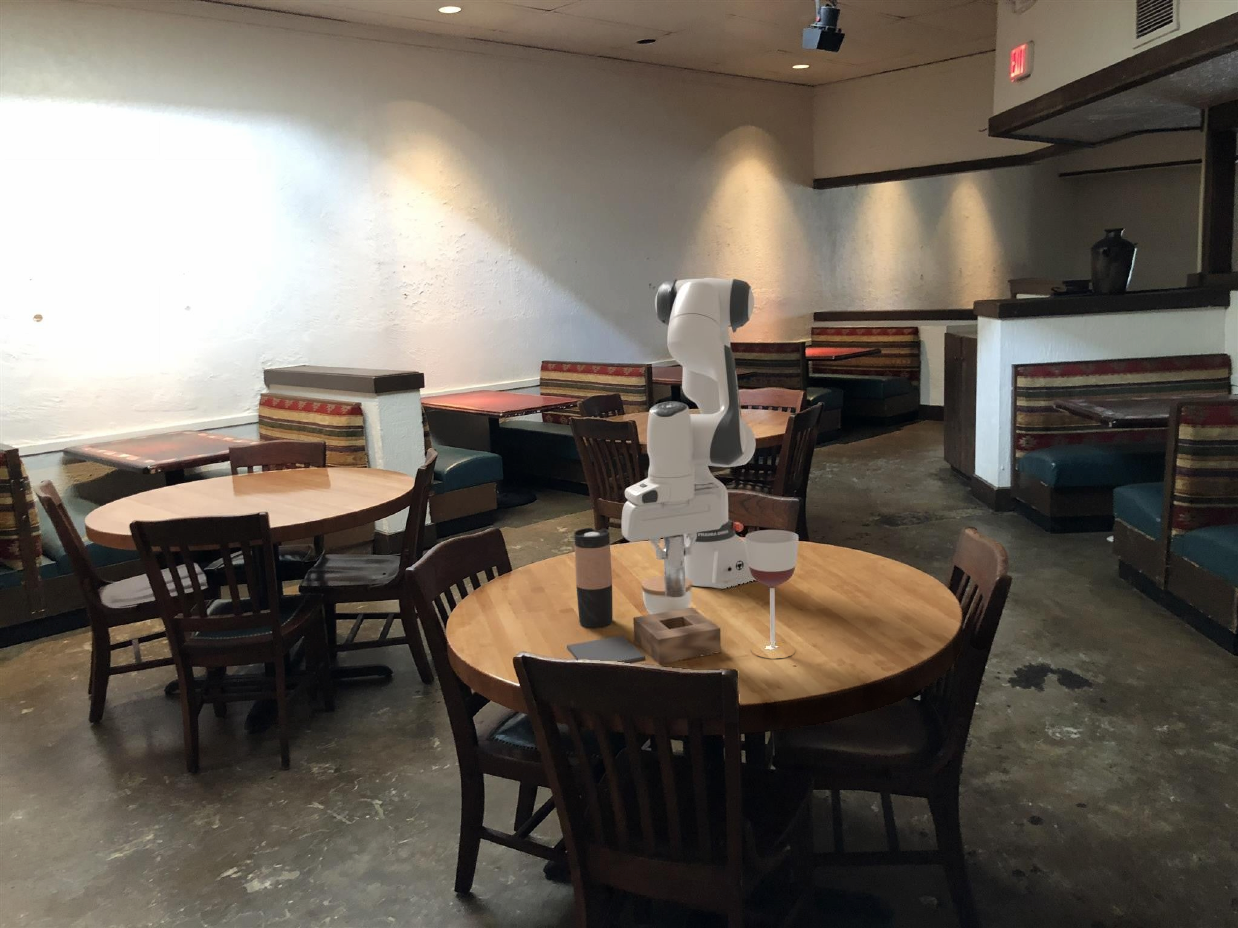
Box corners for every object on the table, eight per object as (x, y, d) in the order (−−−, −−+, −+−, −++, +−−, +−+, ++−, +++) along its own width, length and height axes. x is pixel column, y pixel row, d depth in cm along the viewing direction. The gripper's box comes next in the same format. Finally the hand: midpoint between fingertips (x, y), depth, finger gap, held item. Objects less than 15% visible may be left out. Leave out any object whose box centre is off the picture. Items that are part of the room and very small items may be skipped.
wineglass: (742, 643, 186) (740, 531, 181) (791, 639, 187) (791, 528, 182) (752, 661, 177) (751, 544, 172) (804, 657, 178) (804, 541, 173)
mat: (622, 637, 191) (622, 635, 191) (645, 659, 180) (644, 656, 180) (566, 648, 187) (566, 645, 187) (586, 670, 176) (585, 667, 176)
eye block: (692, 630, 194) (691, 607, 193) (720, 652, 182) (720, 628, 181) (634, 640, 189) (633, 617, 188) (659, 664, 177) (658, 639, 176)
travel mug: (587, 631, 196) (583, 539, 192) (572, 620, 202) (567, 531, 198) (620, 623, 199) (616, 533, 195) (604, 613, 206) (599, 525, 202)
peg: (680, 589, 186) (678, 531, 184) (688, 595, 182) (687, 536, 180) (662, 592, 185) (659, 534, 182) (670, 598, 181) (668, 539, 179)
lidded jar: (654, 606, 209) (653, 565, 207) (699, 611, 204) (698, 570, 203) (634, 622, 200) (633, 580, 198) (681, 628, 195) (680, 585, 193)
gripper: (713, 478, 186) (714, 544, 188) (616, 490, 179) (620, 559, 182) (727, 484, 180) (729, 553, 183) (628, 497, 173) (631, 568, 176)
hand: (674, 556), depth 182 cm, fingers closed on peg, 4 cm apart
